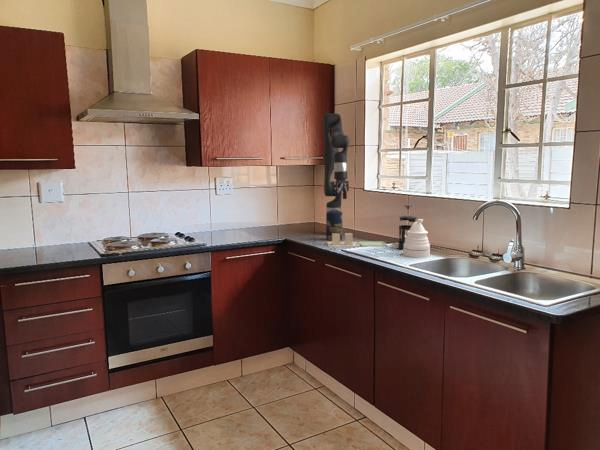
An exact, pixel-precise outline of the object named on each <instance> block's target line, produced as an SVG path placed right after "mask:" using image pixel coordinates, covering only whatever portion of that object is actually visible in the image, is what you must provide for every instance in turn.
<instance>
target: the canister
mask: <svg viewBox="0 0 600 450" xmlns="http://www.w3.org/2000/svg"><path fill="white" fill-rule="evenodd" d="M325 215H326V216H325V220H326V222H325V224H326V225H325V228H326V229H325V232H326V233H325V235H326V237H325V239H326V240H328V241H330V242H332V233H339V234H340V241H342V240H343V212H342V210H341V211H338V210H335V211H333V210H331V211H328V212H327V213H326V214H325Z"/></svg>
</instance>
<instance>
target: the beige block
mask: <svg viewBox="0 0 600 450" xmlns="http://www.w3.org/2000/svg"><path fill="white" fill-rule="evenodd" d="M353 235H354V234H353V233H352V232H348V233H347V232H345V233H344V237H343V238H344V239H343V242H344V244H345V245H353V242H354V241H353V240H354V239H353Z"/></svg>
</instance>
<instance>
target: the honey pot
mask: <svg viewBox="0 0 600 450" xmlns="http://www.w3.org/2000/svg"><path fill="white" fill-rule="evenodd" d="M423 222H424V218H418V219H417V221H416V222H413V224H412V226H411V228H410V230H408V231H407V230H406V236H407V237H406V239H405V243H404V245H403V247H404V248H403V250H402V255H403V256H405V257H409V258H419V259H421V258H428V257H430V255H431V253H430V252H431V249H430V248H431V244H430V241H429V238H428V236H427V235H428V234H429V232H428V231H427V230H426V229H425V227H424V225H423V224H422V223H423ZM407 233H408V235H407Z"/></svg>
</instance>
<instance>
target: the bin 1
mask: <svg viewBox="0 0 600 450" xmlns="http://www.w3.org/2000/svg"><path fill="white" fill-rule="evenodd" d="M326 244H327V246H328V247H329V248H333V247H334V248H335V247H337V248H338V247H339V248H340V247H345V248H347V247H349V248H350V247H352V248H353V247H361V245H360V244H359V243H358V242H357V241H353V245H345V244H344V241H340V245H332V241H326Z"/></svg>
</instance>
